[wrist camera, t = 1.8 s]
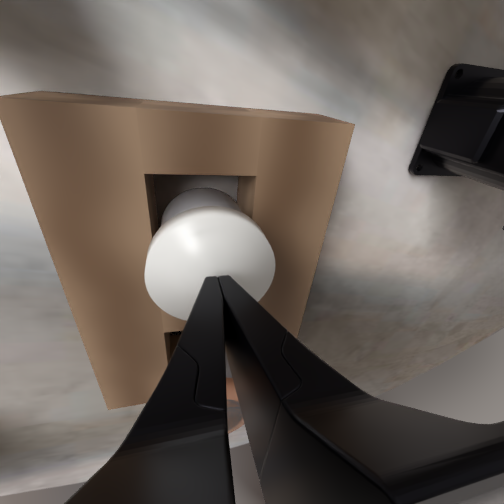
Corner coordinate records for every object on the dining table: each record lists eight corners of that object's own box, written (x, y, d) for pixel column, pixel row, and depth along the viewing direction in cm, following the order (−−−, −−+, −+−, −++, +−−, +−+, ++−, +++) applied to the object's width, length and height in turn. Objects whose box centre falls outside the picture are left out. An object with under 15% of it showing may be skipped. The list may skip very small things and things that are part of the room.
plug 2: (241, 330, 18) (256, 387, 14) (237, 373, 20) (249, 431, 17) (165, 339, 16) (163, 405, 13) (170, 384, 19) (170, 448, 16)
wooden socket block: (317, 113, 16) (354, 124, 12) (272, 340, 26) (286, 377, 23) (40, 90, 12) (-9, 96, 9) (117, 362, 23) (108, 409, 20)
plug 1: (255, 179, 12) (284, 216, 9) (247, 263, 15) (267, 315, 12) (146, 178, 11) (134, 219, 8) (157, 269, 14) (152, 328, 11)
